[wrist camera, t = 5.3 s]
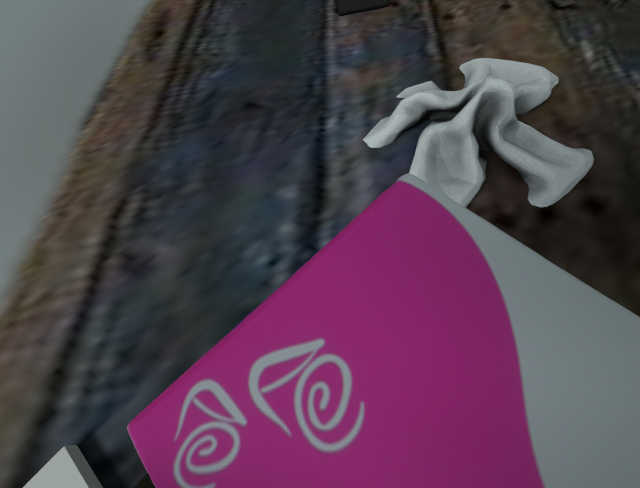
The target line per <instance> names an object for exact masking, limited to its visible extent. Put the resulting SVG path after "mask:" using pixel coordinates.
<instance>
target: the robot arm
mask: <svg viewBox="0 0 640 488" xmlns="http://www.w3.org/2000/svg"><path fill="white" fill-rule="evenodd" d="M134 488H156V487H155V486H154V484H153V482H152V480H151V478H150V475H149V474H148V473H147V474H146V475H145V476H144V477H143V478H142V480H141V481H140V482H139V483H138V484H137V485H136V486H135V487H134Z"/></svg>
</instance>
